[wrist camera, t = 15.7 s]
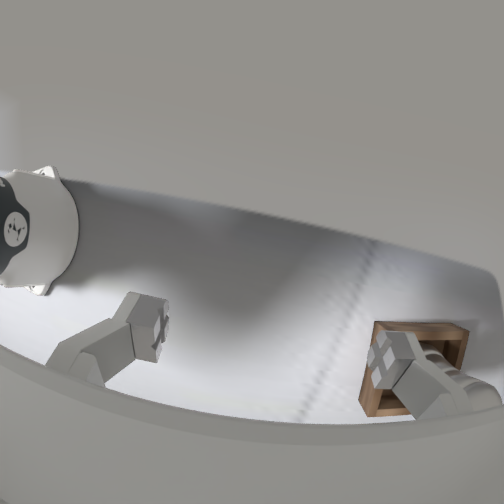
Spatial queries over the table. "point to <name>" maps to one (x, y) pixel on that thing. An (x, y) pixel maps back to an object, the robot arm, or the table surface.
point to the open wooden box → (436, 334)
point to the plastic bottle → (465, 381)
